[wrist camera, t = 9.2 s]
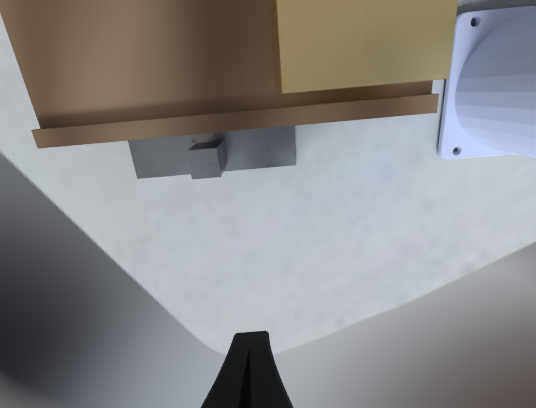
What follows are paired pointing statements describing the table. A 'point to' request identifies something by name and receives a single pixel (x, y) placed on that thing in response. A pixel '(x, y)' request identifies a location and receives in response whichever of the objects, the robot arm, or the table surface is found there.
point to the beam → (171, 72)
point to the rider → (360, 42)
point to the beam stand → (214, 153)
